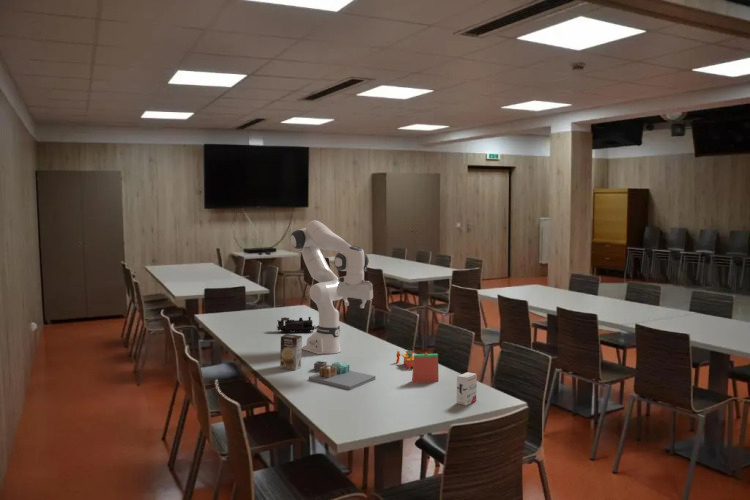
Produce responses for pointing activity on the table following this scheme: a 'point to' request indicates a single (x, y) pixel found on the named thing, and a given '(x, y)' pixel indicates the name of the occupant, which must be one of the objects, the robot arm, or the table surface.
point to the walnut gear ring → (328, 371)
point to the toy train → (295, 325)
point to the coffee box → (290, 352)
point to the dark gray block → (319, 365)
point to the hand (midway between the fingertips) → (354, 306)
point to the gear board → (343, 377)
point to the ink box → (466, 388)
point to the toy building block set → (421, 366)
